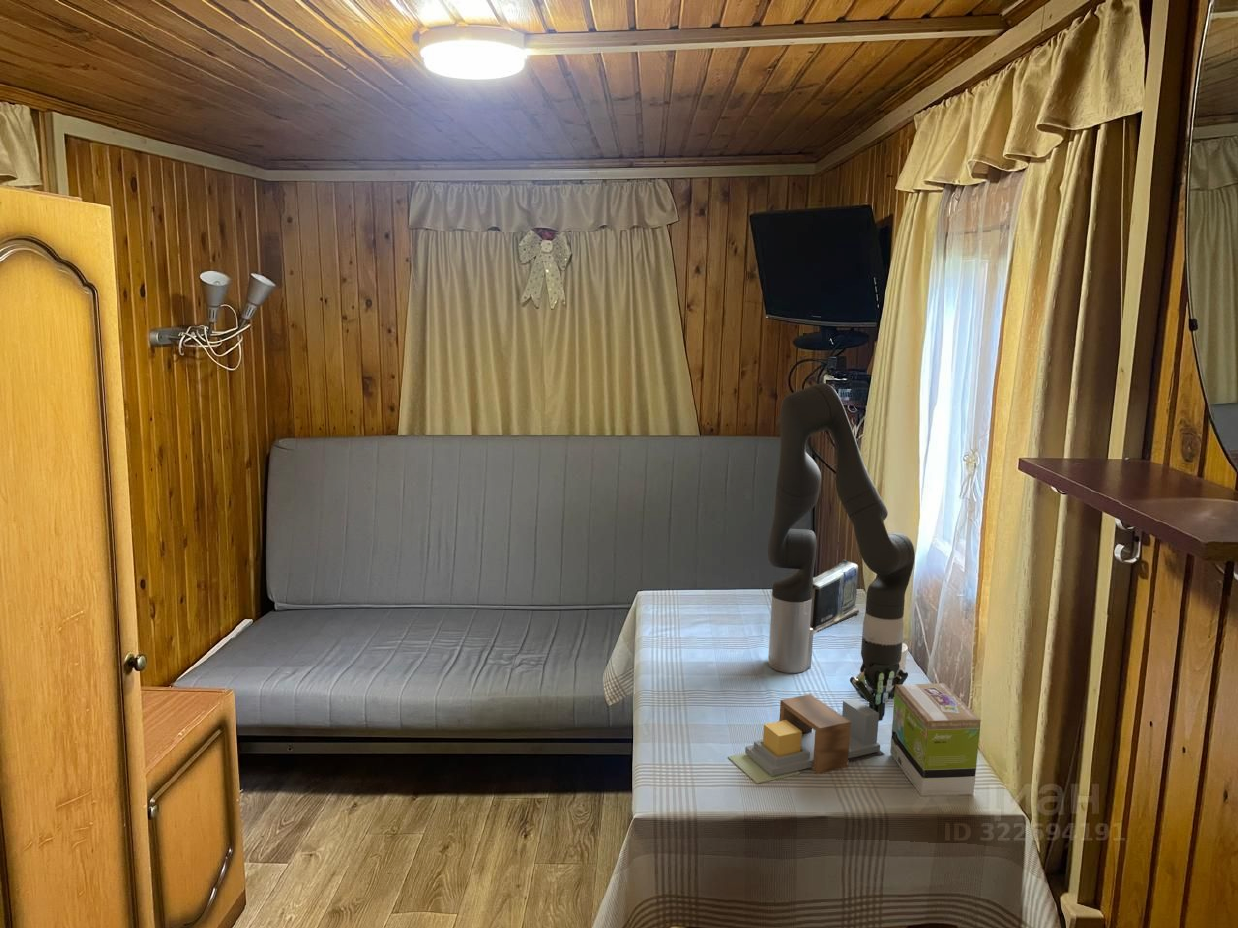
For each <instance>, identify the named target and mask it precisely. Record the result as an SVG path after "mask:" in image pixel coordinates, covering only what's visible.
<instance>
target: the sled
mask: <svg viewBox="0 0 1238 928" xmlns="http://www.w3.org/2000/svg"><path fill="white" fill-rule="evenodd" d="M841 715H842V716H843V717H845V718H846V719H848V720H849V721H851V728H850V742H849V755H848V758H852V757H857V756H861V755H865V754H870V753H874V752H878V751H881V744H880V743H878V731H879V722H880V721H879V713H878V712H876V711H875V710H873V709H872V708H870V707H869V705H867V704H865V703H864V702H862V701H861V700H859V699H858V698H855V697H854V698H850V699H845V700H842V713H841ZM814 743H815V731H812V732H811V733H807V734H802V737H801V752H798V753H793V754H789V755H784V756H780V757H777V756H775V755H774V754H773V753H772V752H771V751H769V750H768V749H767V748H766V747H765V746H763V739H759V740H754V741H753V744H752V745H746V746H745V749H744V753H746V754H747V755H748V756H749V757H750V758H752V759H753V760H754V761H755V762H756V763H757V764H758V765H760V766H761V767H762V768H763V769H764V770H765V771H766V772H768V773H769V774H770V775H771V776H775V775H779V774H784V773H788V772H792V771H800V770H805V769H809V768H813V758H814Z"/></svg>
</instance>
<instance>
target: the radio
mask: <svg viewBox="0 0 1238 928" xmlns="http://www.w3.org/2000/svg"><path fill="white" fill-rule="evenodd" d="M858 571H859V565H858V564H856V563H855V562H851V561H848V559H842V561H841V562H840V563H838V564H837V565H834V567H832V568H830V569H828V570H825V571H824V572H822V573H820V574H818V575H817V576H814V577H813V589H812V605H811V621H810V627H811V628H813V635H815V634H816V633H819V632H821V631H824V630H825V629H828V628H829V627H831V626H833V625H835V624H837V623H840V622H842V621H844V620H846V619H849V618H851V617H853V616H854V615H857V614H858V613H860V610H859V609H858V608H857V607H856V601H857V594H858V593H857V591H858V577H859V575H858V573H859V572H858Z"/></svg>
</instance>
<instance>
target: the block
mask: <svg viewBox="0 0 1238 928" xmlns="http://www.w3.org/2000/svg"><path fill="white" fill-rule="evenodd" d="M762 734H763V737H762V740H763V746H765V747H766V748H767V749H768V750H769V751H771V752H772V753H773V754H774V755H775V756H777V757H780V756H784V755H789V754H793V753H798V752H801V737H802V731H801V730H799V729H798V728H797V727H795V726H794V725H793V724H791V723H790V722H789V721H787V720H783V721H773V722H768V723H764V724H763V732H762Z"/></svg>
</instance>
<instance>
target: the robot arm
mask: <svg viewBox="0 0 1238 928" xmlns="http://www.w3.org/2000/svg"><path fill="white" fill-rule="evenodd" d="M779 412H780V414H779V418H780V419H779V423H780V425H779V426H780V429H779V430H780V450H779V451H780V452H779V461H778V463H779V465H778V471H777V477H776V485H775V495H774V496H775V497H774V499H775V500H774V512H773V518H772V522H771V523H772V524H771V529H770V534H769V540H768V545H767V558H768V561H769V564H770V565H771V566H773V567H775V568H779V569H789V570H791V569H792V570H797V572H795V573H793V574H792V575H790V576H787V577H782V578H780V579H777V580H776V581H774V582H773V584H772V587H771V589H772V590H771V604H770V607H771V608H770V622H769V624H770V625H769V643H768V657H767V659H768V660H767V664H768V666H769V667H770V668H772V669H773V670H775V671H777V672H780V673H782V672H783V673H787V674H794V673H802V672H805V671H806V670H807V669H809V668H812V657H813V641H814V634H813V628H811V627H810V621H811V605H812V589H813V578H814V572H815V565H816V560H817V559H816V556H817V548H818V544H817V541H818V540H817V535H816V533H815V532H814V530H811V529H801V528H792V527H793V526H794V525H795V524H796V523H797V522H799V521H800V520H801V519H802V518H804V517H805V516H806V515H807V514H809V513H810V511H812V509H813V508H814V507H815V506H816V504H817V503H818V500H819V496H820V491H821V484H822V474H821V473H822V472H821V470H820V468H819V465H818V464H817V463H816V461H815V460H814V459H813V458H812V457H811V456H810V455H809V454H808V453H807V451H806V447H807V441H808V439H809V438H810V437H812V436H814V435H816V434H819V433H821V432H824V431H827V430H828V432H829V433H830V436H831V437H832V440H833V442H834V446H835V451H836V454H835V455H836V468H835V488H836V493H837V496H838V498H839V501H840V502H841V505H842V506H843V509H844V510H845V512H846V514H847V516H848V518H849V520H850V521H851V523H852V527H853V531H854V534H855V539H856V542H857V543H856V544H857V547H858V550H859V553H860V556H861V559H862V560H863V562H864V564H865V565H866V567H867V568H868V569H869V570H870V571H871V572H873V573H875V574H876V576H875V579H874V580H873V581H872V582H871V583H869V586H868V588H867V591H866V600H865V611H864V612H865V614H864V617H863V623H862V632H861V634H862V635H861V645H860V656H861V659H862V664H861V666H860V667H859V669H860V670H859V671H860V672H859V674H857V676H851V677H850V679H849V682H850V684H851V686H852V687H853V688H854V689H855V691H856V692H857V694H858V695H859V697H860V698H861V699H862V700H865V701H866V702H868V707H870V708H872V709H873V710H875V711H876V712H878V713H879V722H880V721H883V720H884V716H885V711H886V710H885V709H886V703H887V702H888V700H889V699H893V700H894V694H895V685H896V684H897V685H903V684H905V681H906V680H907V678H908V677H909V673H908V672H906V670H905V671H903V670H901V669H900V668H899V667H900V665H899V662H900V661H901V655H902V643H904V630H905V623H904V614H905V601H906V600H905V598H906V593H907V588H908V587H909V584H910V583H909V582H910V580H911V577H912V572H913V569H914V565H915V558H916V555H915V554H916V553H915V548H914V547H915V546H914V544H913V542H912V540H911V539H910V538H909V537H908V536H907V535H905V534H904V533H901V532H890V533H888V532H887V529H886V525H885V520H886V519H887V518H888V510H887V506H886V505H885V503H884V502H883V501H884V500H883V499H882V497H881V495H880V493H879V492H878V490H877V487H876V485H875V484H874V482H873V480H872V478H871V476H870V474H869V472H868V470H867V467H866V465H865V462H864V460H863V457H862V454H861V451H860V448H859V446H858V442H857V440H856V436H855V434H854V431H853V428H852V425H851V423H850V420H849V417H848V415H847V412H846V409H845V407H844V404H843V402H842V399H841V398H840V395H839V394H838V393H837V391H836V389H835V388H834V387H833V386H832V385H830V384H828V383H825V382H820V383H815V384H813V385H810V386H808V387H805V388H802V389H800V390H797V391H793V392H791V393H790V394H788V395H786V396H785V397H784V398H783V399H782V402H781V406H780V411H779ZM892 686H894V687H893V688H892V690H891V687H892Z"/></svg>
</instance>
